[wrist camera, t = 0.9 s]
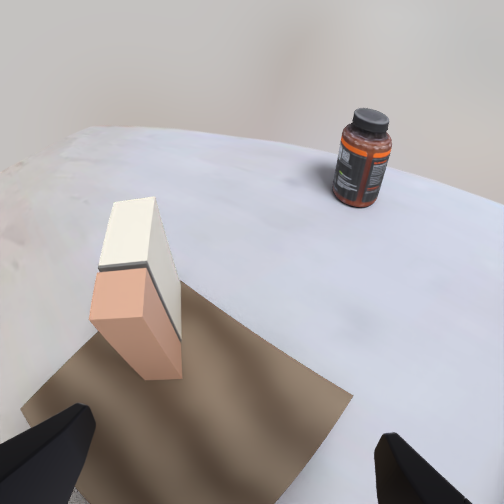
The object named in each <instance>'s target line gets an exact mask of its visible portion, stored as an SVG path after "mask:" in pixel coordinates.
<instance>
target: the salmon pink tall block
mask: <svg viewBox="0 0 504 504" xmlns="http://www.w3.org/2000/svg"><path fill="white" fill-rule="evenodd" d="M89 320H90V322H91V323H92V324H93V325H94V326H95V328H96V329H97V330H98V331H99V332H100V333H101V334H102V336H103V337H104V338H105V339H106V340H107V341H108V342H109V343H110V345H111V346H112V347H113V348H114V349H115V350H116V351H117V352H118V353H119V354H120V355H121V356H122V357H123V359H124V360H125V361H126V362H127V363H128V364H129V365H130V366H131V367H132V368H133V369H134V370H135V371H136V372H137V373H138V374H139V375H140V376H141V377H142V378H143V379H144V380H170V379H182V358H181V343H180V341H179V339H178V337H177V335H176V332H175V330H174V328H173V326H172V324H171V322H170V320H169V318H168V316H167V313H166V311H165V309H164V307H163V305H162V303H161V300H160V298H159V296H158V294H157V291H156V289H155V287H154V285H153V282H152V280H151V278H150V275H149V273H148V271H147V268H139V269H129V270H119V271H109V272H99V273H97V275H96V281H95V286H94V291H93V297H92V303H91V309H90V316H89Z"/></svg>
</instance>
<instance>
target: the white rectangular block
mask: <svg viewBox="0 0 504 504" xmlns="http://www.w3.org/2000/svg"><path fill="white" fill-rule="evenodd" d="M139 268H147V271H148V273H149V275H150V278H151V280H152V282H153V285H154V287H155V289H156V291H157V294H158V296H159V298H160V300H161V303H162V305H163V307H164V309H165V311H166V313H167V316H168V318H169V320H170V322H171V324H172V326H173V328H174V330H175V332H176V335H177V337H178V339H179V341H180V342H182V335H181V283H180V280H179V277H178V274H177V271H176V267H175V264H174V261H173V258H172V254H171V251H170V248H169V244H168V241H167V237H166V234H165V231H164V227H163V223H162V220H161V216H160V213H159V209H158V205H157V202H156V198H155V197H147V198H140V199H133V200H126V201H119V202H114V204H113V208H112V211H111V215H110V219H109V223H108V227H107V231H106V235H105V239H104V243H103V247H102V252H101V256H100V261H99V266H98V269H99V271H100V272H109V271H119V270H129V269H139Z"/></svg>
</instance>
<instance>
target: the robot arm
mask: <svg viewBox="0 0 504 504" xmlns="http://www.w3.org/2000/svg"><path fill="white" fill-rule="evenodd" d="M95 429H96V421H95V419H94V416H93V414H92V411H91V408H90V407H89V406H88V405H86V404H83V403H75V404H73V405H72V406H70V407H68V408H66V409H65V410H63V411H61V412H59V413H57V414H56V415H54V416H52V417H50V418H48V419H47V420H45V421H43V422H41V423H39V424H37V425H36V426H34V427H32V428H30V429H28V430H26V431H24V432H23V433H21V434H19V435H17V436H15V437H13V438H11V439H9V440H7V441H5V442H4V443H2V444H0V504H68V501H69V499H70V497H71V494H72V492H73V489H74V487H75V485H76V482H77V480H78V478H79V475H80V473H81V471H82V469H83V466H84V464H85V461H86V458H87V454H88V451H89V448H90V445H91V441H92V438H93V435H94V432H95ZM374 460H375V473H376V489H377V498H378V504H472V503H471V502H470V501H469V500H468V499H467V498H465V497H464V496H463V495H462V494H461V493H460V492H459V491H458V490H457V489H456V488H455V487H453V486H452V485H451V484H450V483H449V482H448V481H447V480H446V479H445V478H444V477H443V476H442V475H441V474H439V473H438V472H437V471H436V470H435V469H434V468H433V467H432V466H431V465H430V464H429V463H428V462H427V461H426V460H425V459H424V458H422V457H421V456H420V455H419V454H418V453H417V452H416V451H415V450H414V449H413V448H412V447H411V446H410V445H409V444H408V443H407V442H406V441H405V440H404V439H403V438H401V437H400V436H399V435H398V434H397V433H395V432H392V433H385V434H383V435H382V436H381V438H380V440H379V442H378V444H377V446H376V448H375V451H374Z"/></svg>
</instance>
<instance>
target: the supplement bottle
mask: <svg viewBox="0 0 504 504" xmlns="http://www.w3.org/2000/svg"><path fill="white" fill-rule="evenodd" d="M388 124H389V119H388V117H387V116H386V115H384V114H383V113H381V112H379V111H376V110H372V109H368V108H359V109H356V110H355V111H354V117H353V123H351V124H349V125H347V126H346V127H345V128H344V129H343V132H342V138H341V143H340V149H339V155H338V160H337V165H336V171H335V176H334V182H333V192H334V194H335V195H336V197H337V198H338V199H339V200H341V201H342V202H344V203H346V204H348V205H351V206H355V207H367V206H369V205H371V204H373V203H374V202H375V201H376V199H377V196H378V193H379V190H380V187H381V183H382V180H383V176H384V173H385V170H386V166H387V162H388V159H389V156H390V151H391V147H392V140H391V138H390V136H389V134H388V133H387V132H386V131H387V130H388Z"/></svg>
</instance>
